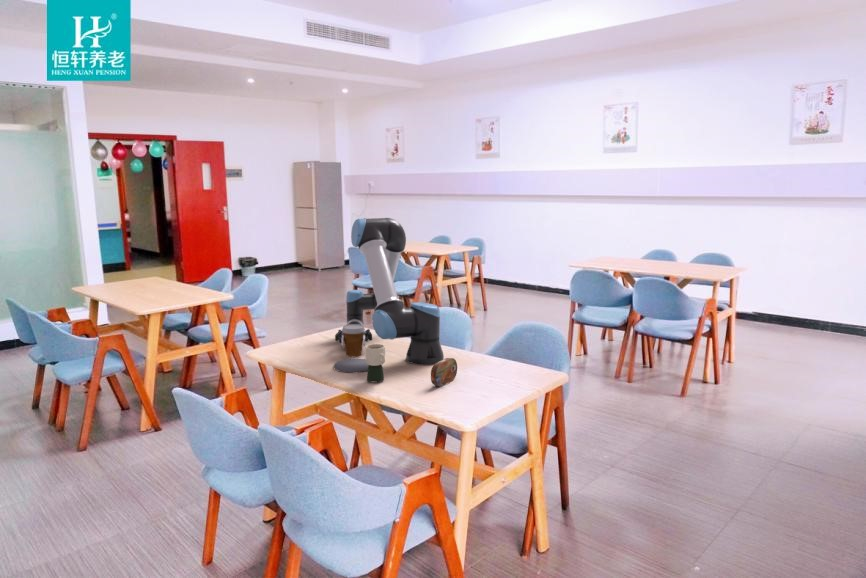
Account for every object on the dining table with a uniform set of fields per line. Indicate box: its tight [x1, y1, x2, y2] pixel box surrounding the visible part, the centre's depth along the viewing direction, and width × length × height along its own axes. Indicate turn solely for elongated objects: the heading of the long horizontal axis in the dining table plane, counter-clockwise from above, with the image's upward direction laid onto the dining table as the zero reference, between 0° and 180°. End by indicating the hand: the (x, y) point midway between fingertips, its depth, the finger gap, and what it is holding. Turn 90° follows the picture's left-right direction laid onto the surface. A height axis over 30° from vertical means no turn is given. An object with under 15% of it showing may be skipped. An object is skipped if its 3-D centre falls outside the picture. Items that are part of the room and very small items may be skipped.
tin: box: [430, 357, 458, 388], centre depth 212 cm, size 15×3×8 cm, turn 148°
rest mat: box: [333, 358, 369, 374], centre depth 231 cm, size 16×16×1 cm
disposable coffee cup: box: [341, 324, 366, 357], centre depth 246 cm, size 10×10×12 cm
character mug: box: [364, 343, 386, 383], centre depth 213 cm, size 11×7×13 cm, turn 39°
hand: (353, 342), depth 241 cm, fingers closed on disposable coffee cup, 8 cm apart
